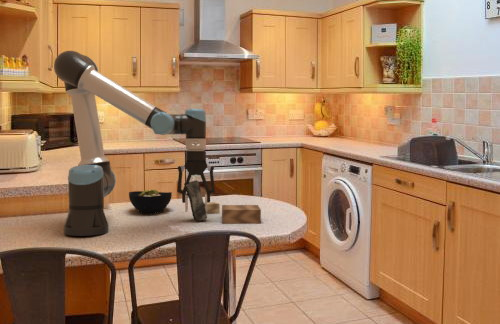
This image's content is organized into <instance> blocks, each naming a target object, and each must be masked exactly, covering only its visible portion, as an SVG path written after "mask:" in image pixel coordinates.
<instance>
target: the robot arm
mask: <svg viewBox="0 0 500 324" xmlns="http://www.w3.org/2000/svg"><path fill="white" fill-rule="evenodd" d="M53 70H54V73H55V75H56V76H57V77H58V79H59V80H60V81H62V82H64V90H65V93H66V94H67V95H68V96H69V97H70V100H71V105H72V112H73V117H74V123H75V130H76V136H77V141H78V142H77V143H78V148H79V153H80V162H79V163H78V164H77V165H75V166H73V167H71V168H70V169H69V170H68V176H67V180H68V214H67V217H66V220H65V221H64V222H65V223H64V226H63V234H64V235H67V236H77V237H80V236H81V237H82V236H84V237H85V236H98V235H103V234H107V233H108V232H109V223H108V220H107V217H106V214H105V211H104V198H105V197H106V196H108V195H110V194H111V192H113V190H114V189H115V186H116V183H117V182H116V176H115V174H114V172H113V170H112V169H111V168H112V167H111V162H110V159H108V158H107V157H106V156H105V152H104V151H105V149H104V144H103V143H104V142H103V139H102V132H101V131H102V130H101V125H100V119H99V113H98V107H97V100H96V97H97V98H99V99H101V100H103V101H104V102H106V103H107V104H108V105H109V104H110V105H111V106H113V107H114V108H116V109H118V110H120V111H121V112H123V113H124V114H126V115H128V116H129V117H131V118H133V119H134V120H136V121H138V122H139V123H141V124H143V125H145V126H146V127H148V128H149V129H152V131H153V133H154V135H161V136H164V135H165V136H166V135H185V151H186V152H185V163H184V165H179V166H177V170H178V178H177V190H176V191H177V193H179V194H181V201H182V203H183V204H184V205H185V207H184V208H185V209H184V211H185V212H186V213H187V212H188V211H189V210H188V209H189V207H188V204H189V203H188V201H189V200H188V199H189V197H188V194H187V192H186V190H187V188H186V185H188V184H189V182H191V181H190V180H191V178H192V176H195V175H196V176H200V179H201V181H202V184H203V186H204V189H205V192H206V193H205V194H204V203H205V210H206V212H207V203H211V194H213V193H215V192H216V189H215V181H214V180H215V179H214V178H215V177H214V170H215V166H214V165H209V164H207V151H206V149H207V138H206V136H207V121H206V120H207V119H206V110H204V109H203V108H187V109H186V110H185V113H182V114H178V113H177V114H173V113H172V114H171V113H167V112H166V111H164V110H162V109H161V108H159V107H157V106H155V105H154V104H152V103H150V102H149V101H147V100H146V99H144V98H142V97H141V96H139V95H137V94H136V93H134V92H133V91H131V90H130V89H127V88H126V87H124V86H123V85H121V84H119V83H117V82H116V81H114V80H113V79H111V78H109V77H107V76H106V75H105V74H103V73H102V72H99V69H98V66H97V64H96V63H95V62H94V61H93V59H91V57H89V56H88V55H85V54H82V53H80V52H78V51H75V50H65V51H63V52H61V53H59V54H58V55H57V56H56V58H55V59H54V62H53ZM185 169H186V172H188V174H187V178H186V180H185V182H184V183H185V185H184V184H183V185H184V186H183V187H182V183H183V182H182V179H183V172H184V171H185ZM206 169H207V171H208V172H209V178H210V187H211V188H209V186H208V181H207V179H206V176H205V174H204V172H205V170H206ZM182 188H183V189H182Z"/></svg>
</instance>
